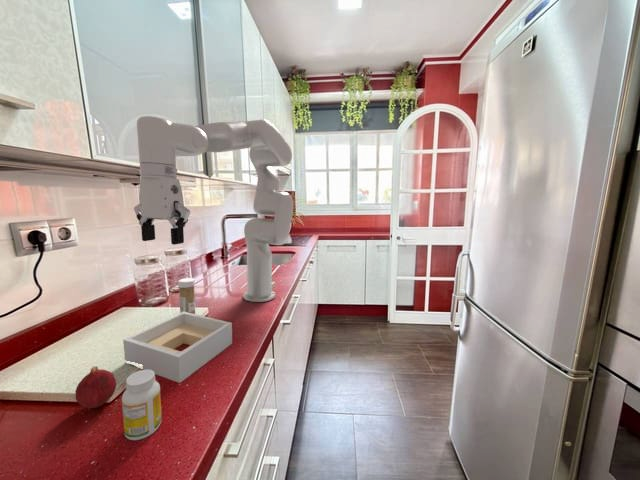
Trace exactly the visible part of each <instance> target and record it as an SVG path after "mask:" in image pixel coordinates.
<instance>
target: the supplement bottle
mask: <svg viewBox="0 0 640 480" xmlns="http://www.w3.org/2000/svg"><path fill="white" fill-rule="evenodd" d="M161 398H162V397H161V385H160V383H159V382H158V381H157V380H156V374H155V373H154V371H152V370H148V369H146V370H142V369H140V370H138V371H135V372H133V373H132V374H130V375H129V376H128V377H127V378H126V379H125V391H124V392H123V393H122V397H121V406H122V417H123V418H122V420H123V429H124V430H123V431H124V432H123V433H124V437H125V438H126V439H128V440H130V441H139V440H143V439H145V438H147V437H150V436H151V435H152V434H154V433H155V432H156V431H157V430H158V429H159V427H160V425H161V424H162V417H163V416H162V401H161V400H162V399H161Z"/></svg>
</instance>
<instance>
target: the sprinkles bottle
mask: <svg viewBox="0 0 640 480" xmlns="http://www.w3.org/2000/svg"><path fill="white" fill-rule="evenodd" d="M177 284H178V288H179V290H178V292H179V296H178V298H179V312H180V313H182V312H188V313H192V314H196V295H195V285H196V283H195V278H193V277H184V278H180V279H179V280H178V282H177Z"/></svg>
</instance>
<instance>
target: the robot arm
mask: <svg viewBox="0 0 640 480" xmlns="http://www.w3.org/2000/svg"><path fill="white" fill-rule="evenodd" d="M136 131H137V144H138V145H137V147H138V148H137V149H138V160H139V173H140V180H139V192H138V199H139V200H138V201H139V203H138V204H137V205H136V206H134V207H133V211H134V212H135V215H136V216H135V217H136V218H137V220H138V223H139V225H140V228H141V229H140V230H141V240H142V242H149V241H154V240H156V230H155V229H156V228H155V224H153V223H154V221H155V220H161V221H162V220H163V221H168V222H169V223H170V225H171V228H170V242H171V245H173V246H174V245H179V244H184V242H185V235H184V228H185V227H186V224H187V223H188V221H189V217H190V214H191V210H190V209H188V208H187V207H186V206H185V205H184V204H185V203H184V196H183V190H182V185H181V182H180V179H178V178H177V173H178V169H177V160H176V159H177V157H195V156H201V155H202V154H204V153H226V152H233V151H237V150H243V149H249V154H248V155H249V159H250V162H251V163H252V165H253V167H254V170H255V172H256V175H257V183H256V189H255V194H254V199H253V205H252V206H253V211H254V212H255V213H256V214H257V215H259V216H265V217H273V218H274V219H272V218H265V217H264V218H263V217H262V218H261V217H255V218H250V219H249V220H248V221H246V222H245V225H244V227H243V228H244V229H243V231H244V238H245V239H244V240H245V244H246V257H247V258H246V265H247V266H246V271H247V272H246V274H247V275H246V276H247V277H246V281H247V283H246V284H247V285H246V288H247V289H246V290H247V291H245V292H244V293H243V294H242V298H243V299H244V300H246V301H247V302H250V303H264V302H265V303H266V302H269V301H271V300H273V299H274V298H275V297H276V292H275V291H274V290H273V287H275V286H276V285H277V283H276V281H273V280H272V279H273V278H272V277H273V276H272V275H273V274H272V272H273V271H272V270H273V269H272V268H273V267H272V266H273V265H272V264H273V254H272V250H271V247H270V245H274V246H282V245H284V244H286V242H288V241H287V240H288V238H289V235H290V232H291V231H290V230H291V226H292V225H291V224H292V220H293V213H294V199H293V197H292V195H291V194H290V193H289V192H287V191H286V192H285V191H279V189H280V178H279V176H278V174H277V172H276V171H275V169H274V167H286V166H288V165H289V164H290V163H291V161H292V159H293V152H292V149H291V147H290V145H289V143H288V142H287V140H286V139H285V138H284V136H283V135H282V134H281V132H280V131H279V130H278V129H277V128H276V127H275V125H274V124H273V123H271V122H270V121H269V120H267V119H254V120H244V121H243V120H242V121H218V122H210V123H206V124H200V125H199V124H198V125H193V124H186V123H179V122H171V120H168V119H166V118H163V117H158V116H152V115H151V116H150V115H145V116H140V117H138V119H137V121H136Z"/></svg>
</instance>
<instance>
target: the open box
mask: <svg viewBox="0 0 640 480" xmlns="http://www.w3.org/2000/svg"><path fill="white" fill-rule="evenodd" d="M122 341H123V351H124V352H123V353H124V361H125V360H126V361H130V362H135V363H138V364H142V365H143V370H146V369H148V370H152V371H154V373H155V376H156V375H157V376H159V377H163V378H165V379H167V380H171V381H173V382H177V383H178V384H180V383H182V382H183V381H185V380H186V379H188V378H189V377H190V376H191V375H192V374H194V373H196V371H198V370H199V369H200V368H202V367H203V366H204V365H205V364H207V363H208V362H209V361H211V360H213V359H214V358H215V357H216V356H217V355H219V354H220V353H222V352H223V351H224V350H226V349H227V348H229V346H231V345H232V344H233V322H230V321H225V320H221V319H217V318H212V317H208V316H204V315H200V314H196V313H195V314H192V313H188V312H182V313H181V312H180V313H178V314H175V315H173V316H171V317H169V318H166V319H164V320H162V321H160V322H159V323H156V324H154V325H151V326H149V327H148V328H147V327H146V328H144V329H143V330H141V331H139V332H137V333H134V334H132V335H130V336H128V337H126V338H124V339H123V340H122ZM183 344H185V345H187V346H188V345H189V346H188V347H186V348H185V349H183V350H182V351H180V350H177V349H176V348H178V347H180V346H181V345H183Z"/></svg>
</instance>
